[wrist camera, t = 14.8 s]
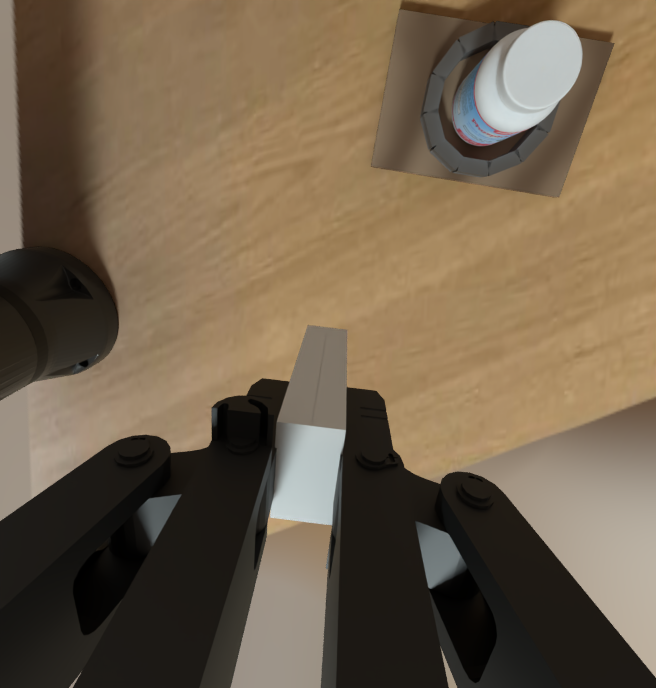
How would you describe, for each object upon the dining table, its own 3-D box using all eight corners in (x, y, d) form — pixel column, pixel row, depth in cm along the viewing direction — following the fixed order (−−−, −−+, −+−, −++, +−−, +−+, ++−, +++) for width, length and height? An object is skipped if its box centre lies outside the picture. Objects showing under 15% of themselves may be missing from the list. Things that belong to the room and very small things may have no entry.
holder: (370, 166, 36) (371, 164, 34) (398, 14, 32) (401, -4, 29) (554, 197, 36) (570, 196, 33) (606, 47, 32) (630, 33, 29)
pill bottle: (449, 150, 35) (487, 129, 24) (450, 73, 32) (493, 12, 22) (517, 143, 34) (587, 117, 23) (523, 63, 32) (603, -5, 21)
